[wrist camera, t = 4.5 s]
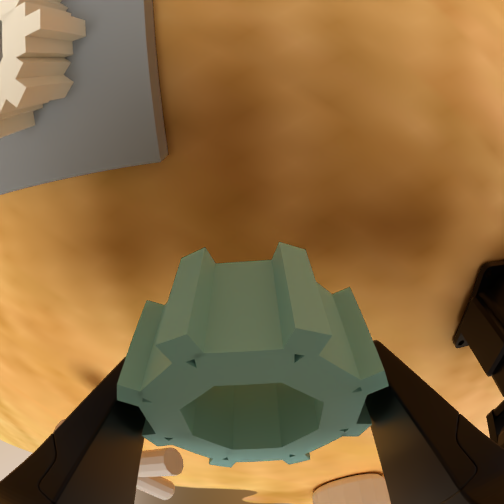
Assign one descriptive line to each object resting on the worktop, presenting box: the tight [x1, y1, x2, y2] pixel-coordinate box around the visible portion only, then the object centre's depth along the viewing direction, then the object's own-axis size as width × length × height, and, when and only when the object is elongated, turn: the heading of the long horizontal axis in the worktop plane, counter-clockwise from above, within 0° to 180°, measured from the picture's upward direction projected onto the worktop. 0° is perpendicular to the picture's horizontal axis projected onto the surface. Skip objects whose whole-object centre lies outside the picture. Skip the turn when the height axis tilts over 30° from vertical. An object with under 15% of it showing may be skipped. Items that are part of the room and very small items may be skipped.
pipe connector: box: [53, 419, 183, 500], centre depth 16 cm, size 10×10×10 cm
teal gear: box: [117, 242, 389, 467], centre depth 8 cm, size 6×6×3 cm
